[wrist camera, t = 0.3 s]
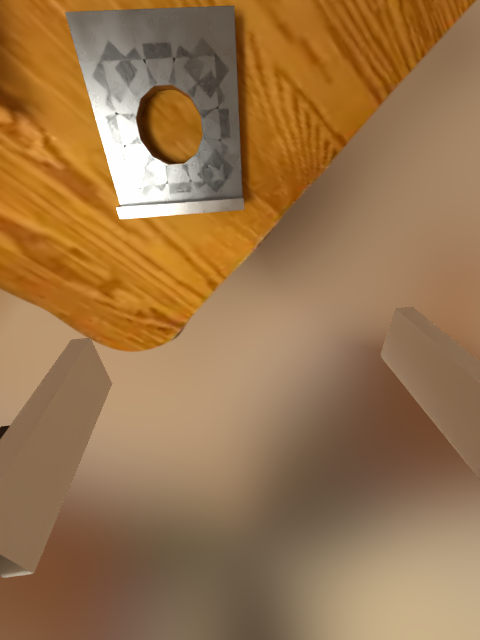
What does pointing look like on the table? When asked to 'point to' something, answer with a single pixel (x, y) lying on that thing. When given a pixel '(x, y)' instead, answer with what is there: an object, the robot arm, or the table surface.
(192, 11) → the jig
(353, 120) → the table surface
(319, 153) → the table surface
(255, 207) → the table surface
